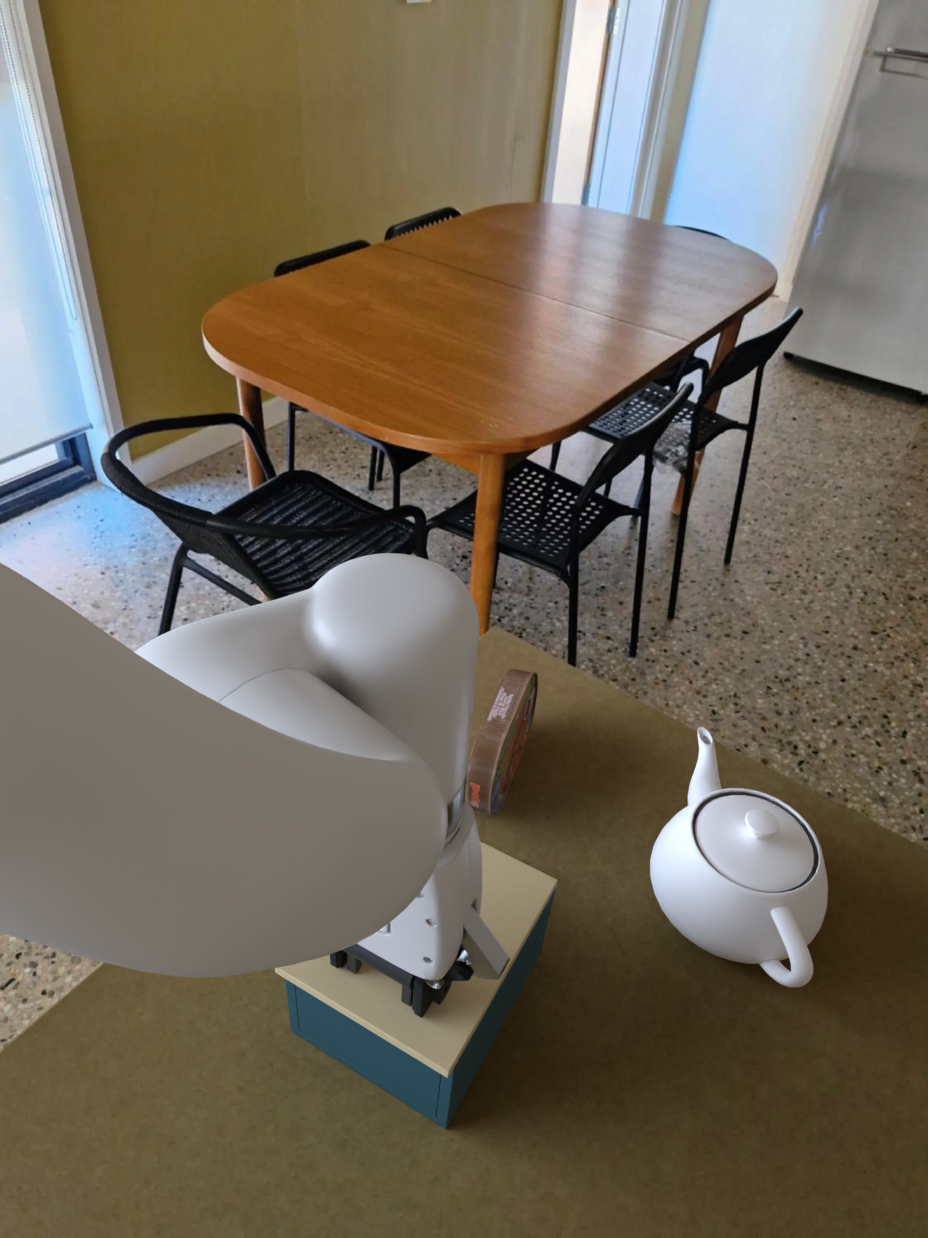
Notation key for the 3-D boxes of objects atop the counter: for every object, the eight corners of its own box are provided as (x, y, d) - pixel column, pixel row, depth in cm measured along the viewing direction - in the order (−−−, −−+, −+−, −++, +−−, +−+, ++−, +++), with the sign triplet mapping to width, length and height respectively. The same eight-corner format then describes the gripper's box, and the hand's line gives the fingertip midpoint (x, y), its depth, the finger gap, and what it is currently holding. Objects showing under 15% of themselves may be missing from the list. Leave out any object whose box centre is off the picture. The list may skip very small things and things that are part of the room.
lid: (448, 1079, 52) (453, 1037, 48) (274, 973, 56) (270, 928, 53) (556, 886, 63) (567, 842, 59) (404, 810, 67) (407, 765, 64)
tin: (490, 836, 76) (499, 771, 71) (455, 825, 77) (462, 760, 72) (536, 719, 87) (547, 656, 82) (505, 711, 88) (514, 647, 83)
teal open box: (446, 1130, 58) (454, 1069, 52) (290, 1031, 62) (283, 965, 57) (541, 953, 68) (556, 887, 63) (401, 879, 72) (404, 810, 67)
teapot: (863, 1015, 66) (920, 936, 59) (689, 1036, 64) (727, 956, 57) (748, 785, 83) (782, 703, 76) (607, 795, 81) (629, 712, 74)
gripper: (204, 765, 44) (242, 954, 56) (509, 925, 38) (480, 1099, 50) (296, 677, 49) (313, 867, 61) (578, 806, 44) (537, 989, 55)
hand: (389, 970), depth 55 cm, fingers open, 5 cm apart
